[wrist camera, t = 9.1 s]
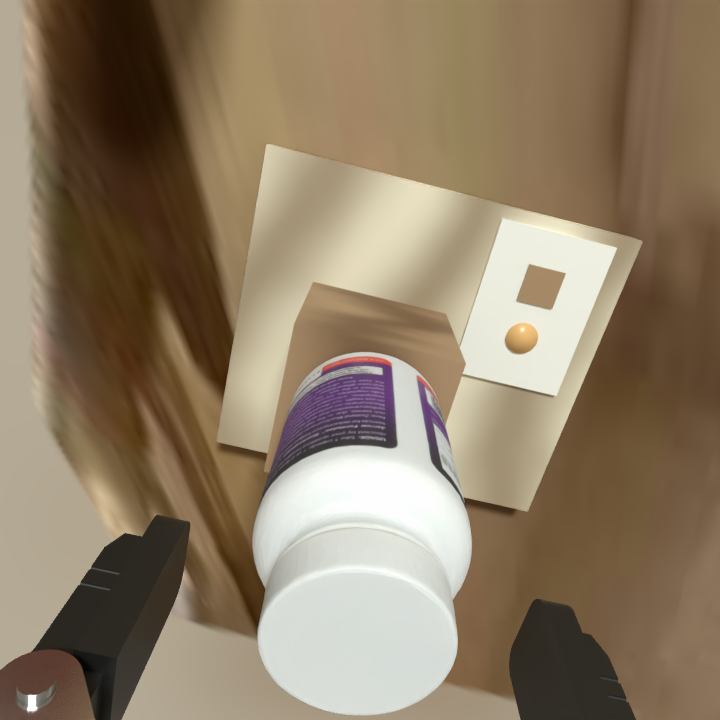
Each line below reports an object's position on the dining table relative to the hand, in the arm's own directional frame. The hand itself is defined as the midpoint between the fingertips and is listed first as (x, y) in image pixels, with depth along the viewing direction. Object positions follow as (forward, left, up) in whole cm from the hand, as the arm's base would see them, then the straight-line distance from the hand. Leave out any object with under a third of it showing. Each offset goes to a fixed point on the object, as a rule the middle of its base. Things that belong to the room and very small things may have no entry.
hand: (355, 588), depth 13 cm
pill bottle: (0, 0, -8) cm, 8 cm away
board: (-2, -1, -15) cm, 15 cm away
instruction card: (-6, -4, -14) cm, 16 cm away
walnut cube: (0, 0, -14) cm, 14 cm away
